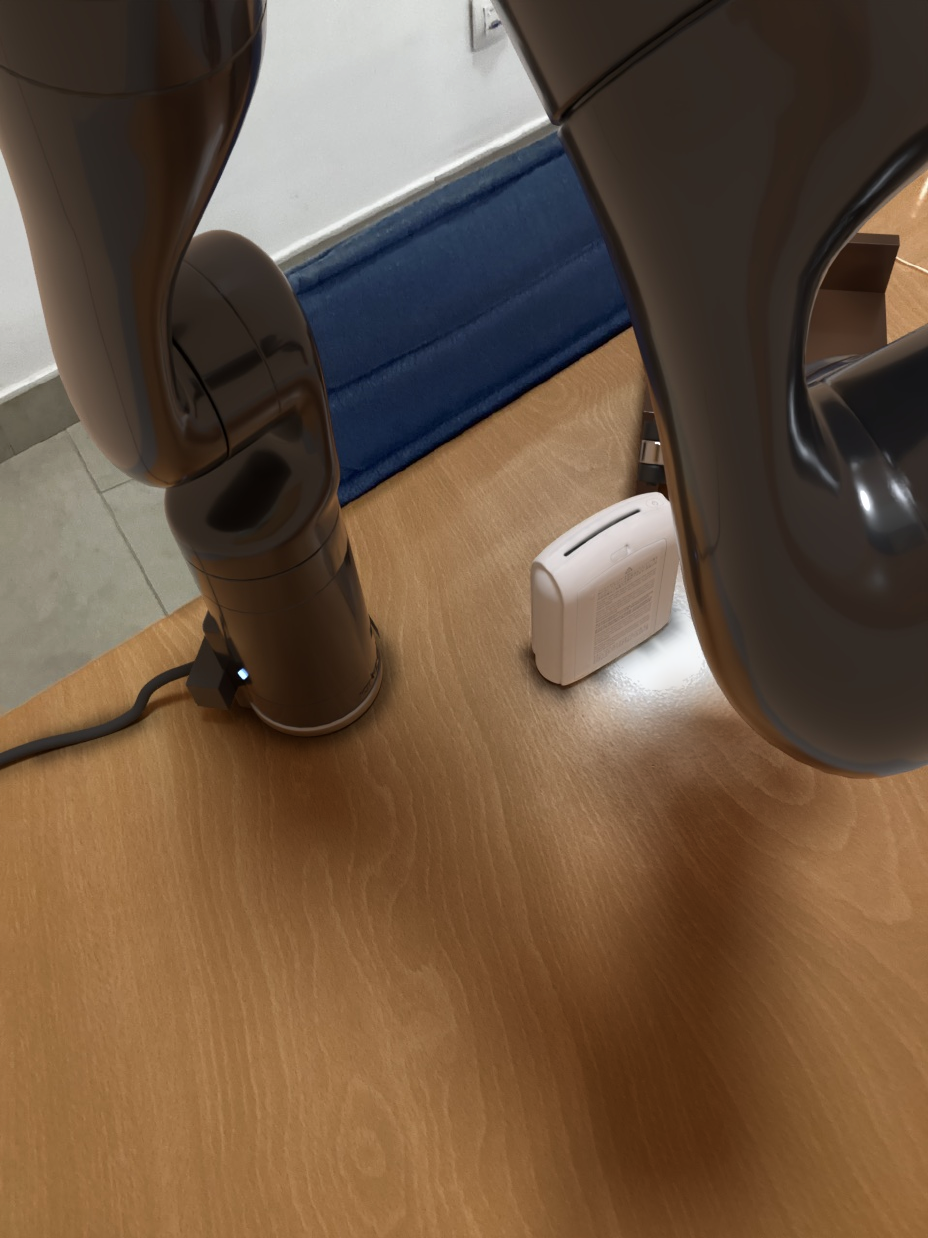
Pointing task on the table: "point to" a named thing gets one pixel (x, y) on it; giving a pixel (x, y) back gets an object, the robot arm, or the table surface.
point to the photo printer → (603, 587)
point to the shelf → (840, 308)
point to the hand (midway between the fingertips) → (782, 459)
